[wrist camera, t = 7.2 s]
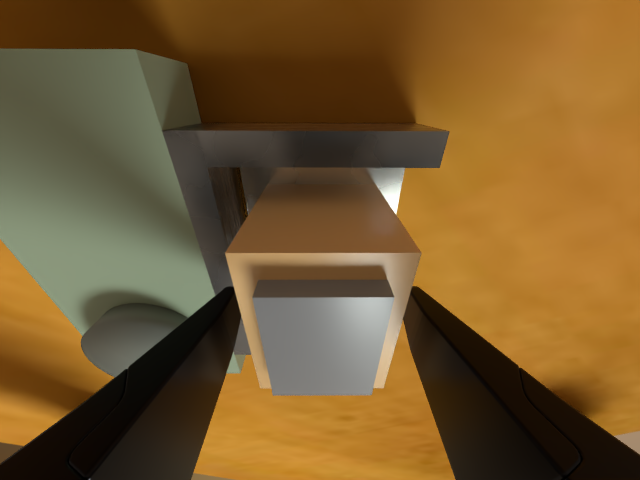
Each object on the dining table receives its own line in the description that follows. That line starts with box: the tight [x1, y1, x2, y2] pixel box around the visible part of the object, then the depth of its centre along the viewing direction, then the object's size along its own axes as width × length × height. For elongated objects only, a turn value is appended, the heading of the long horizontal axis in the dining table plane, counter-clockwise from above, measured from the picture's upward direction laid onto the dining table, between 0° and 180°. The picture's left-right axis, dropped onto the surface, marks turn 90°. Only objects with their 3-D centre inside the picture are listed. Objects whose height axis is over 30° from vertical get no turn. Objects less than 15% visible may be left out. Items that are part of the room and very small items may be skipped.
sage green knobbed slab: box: [0, 49, 246, 377], centre depth 10 cm, size 14×7×4 cm, turn 0°
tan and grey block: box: [225, 184, 421, 395], centre depth 9 cm, size 6×4×6 cm
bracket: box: [162, 123, 449, 355], centre depth 10 cm, size 10×8×2 cm
